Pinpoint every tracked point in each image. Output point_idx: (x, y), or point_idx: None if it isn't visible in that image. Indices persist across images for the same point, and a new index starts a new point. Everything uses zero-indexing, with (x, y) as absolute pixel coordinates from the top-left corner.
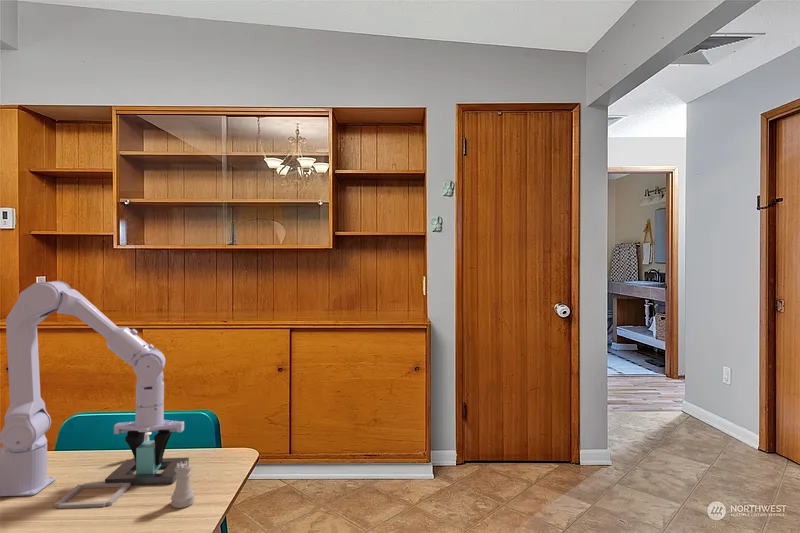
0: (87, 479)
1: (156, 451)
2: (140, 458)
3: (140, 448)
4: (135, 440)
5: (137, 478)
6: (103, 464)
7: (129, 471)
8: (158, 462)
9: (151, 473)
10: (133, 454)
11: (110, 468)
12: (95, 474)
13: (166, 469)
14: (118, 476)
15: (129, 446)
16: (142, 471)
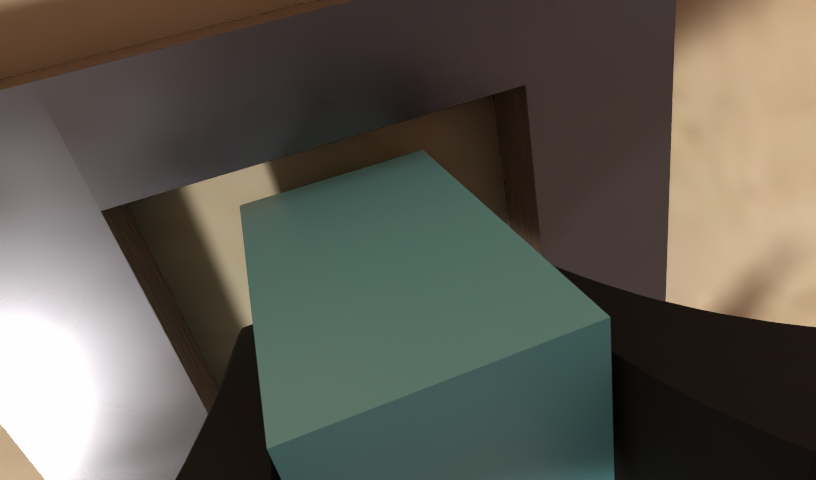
0: (813, 56)
1: (253, 437)
2: (450, 248)
3: (531, 342)
4: (770, 431)
5: (311, 10)
6: (785, 313)
7: (529, 192)
8: (235, 343)
9: (258, 205)
10: (599, 283)
11: (721, 275)
12: (785, 157)
13: (132, 321)
14: (568, 20)
15: (759, 323)
16: (366, 183)
